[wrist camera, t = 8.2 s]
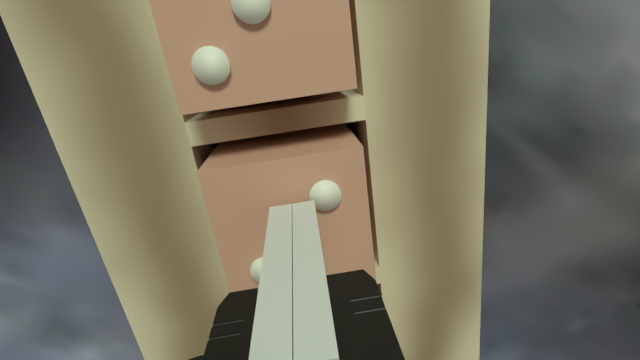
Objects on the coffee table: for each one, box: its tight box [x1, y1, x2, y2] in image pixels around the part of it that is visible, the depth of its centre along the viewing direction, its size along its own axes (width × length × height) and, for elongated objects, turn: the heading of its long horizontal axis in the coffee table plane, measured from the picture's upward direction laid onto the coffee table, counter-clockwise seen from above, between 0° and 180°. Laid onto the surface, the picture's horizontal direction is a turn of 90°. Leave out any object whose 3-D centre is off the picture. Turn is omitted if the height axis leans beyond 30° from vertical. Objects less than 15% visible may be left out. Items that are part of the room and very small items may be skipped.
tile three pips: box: [149, 0, 357, 115], centre depth 12 cm, size 6×6×5 cm
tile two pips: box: [197, 123, 376, 292], centre depth 15 cm, size 6×6×5 cm
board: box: [0, 0, 490, 360], centre depth 16 cm, size 16×24×3 cm, turn 8°
